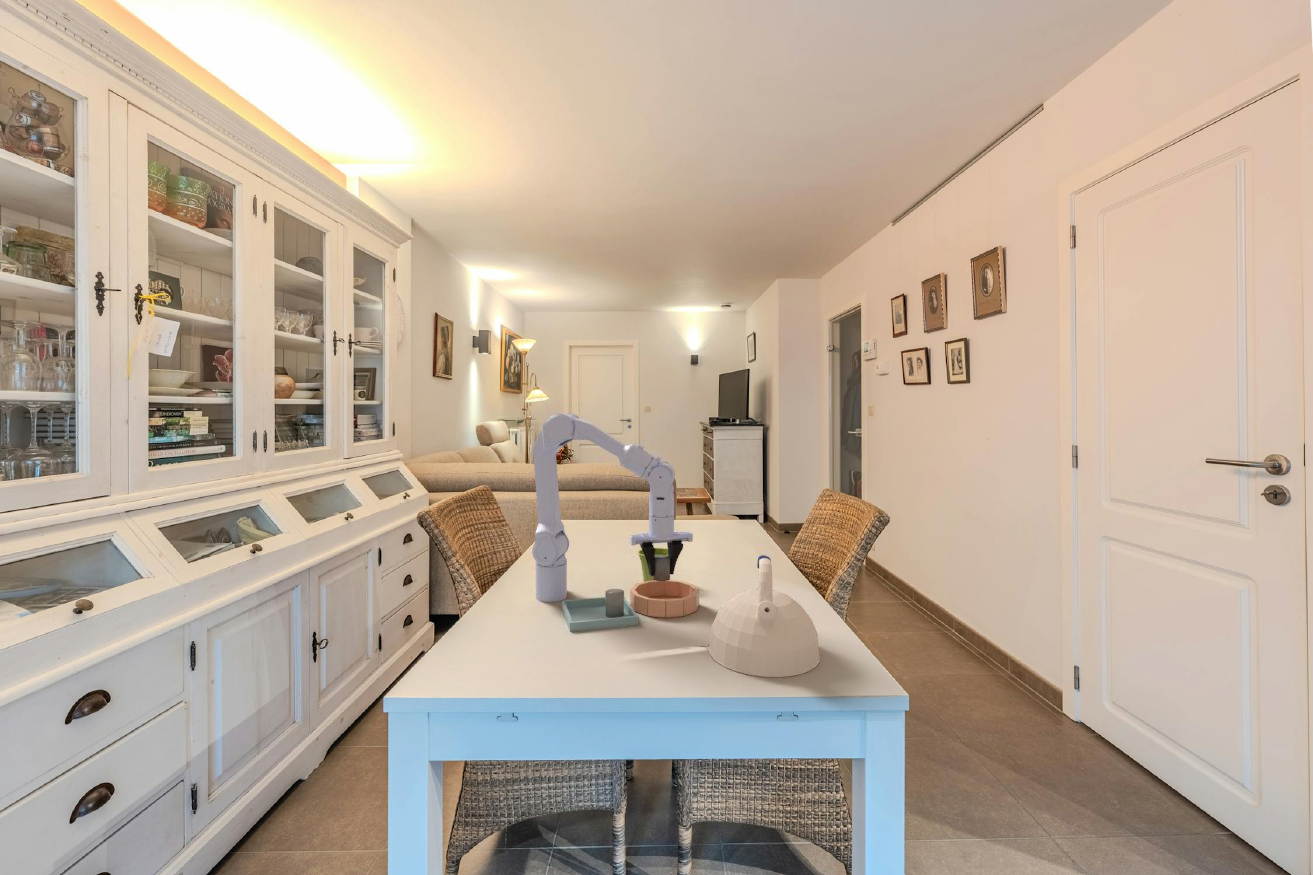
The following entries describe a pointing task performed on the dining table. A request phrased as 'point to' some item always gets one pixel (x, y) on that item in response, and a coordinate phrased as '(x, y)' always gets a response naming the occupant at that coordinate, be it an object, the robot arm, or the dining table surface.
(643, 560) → the plant pot
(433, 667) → the dining table surface
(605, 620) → the parts tray
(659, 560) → the charcoal pebble
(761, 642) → the kettle
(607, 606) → the slate pebble
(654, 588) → the terracotta bowl
